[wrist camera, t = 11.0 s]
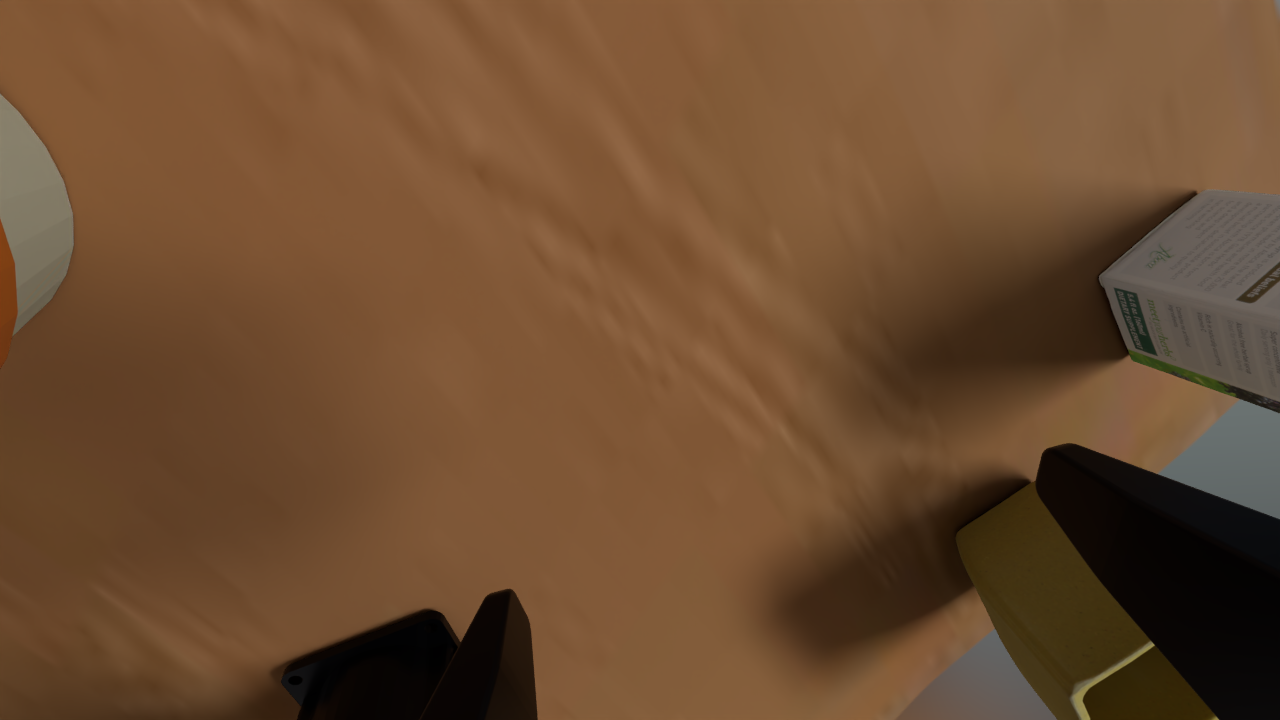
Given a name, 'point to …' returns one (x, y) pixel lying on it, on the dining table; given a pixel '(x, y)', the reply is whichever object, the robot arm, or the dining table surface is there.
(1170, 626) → the robot arm
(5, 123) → the reusable coffee cup
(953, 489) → the dining table surface
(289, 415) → the dining table surface
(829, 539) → the dining table surface
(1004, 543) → the flower pot
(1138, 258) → the syrup box
